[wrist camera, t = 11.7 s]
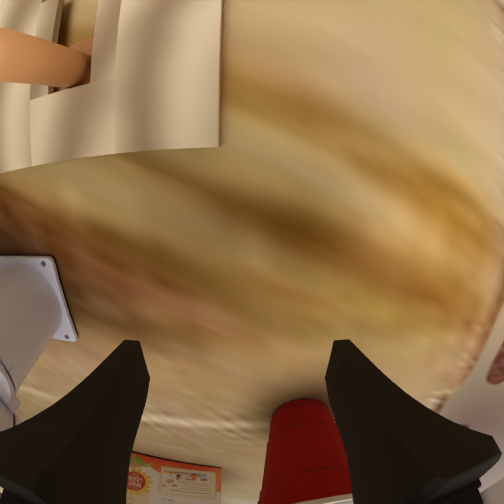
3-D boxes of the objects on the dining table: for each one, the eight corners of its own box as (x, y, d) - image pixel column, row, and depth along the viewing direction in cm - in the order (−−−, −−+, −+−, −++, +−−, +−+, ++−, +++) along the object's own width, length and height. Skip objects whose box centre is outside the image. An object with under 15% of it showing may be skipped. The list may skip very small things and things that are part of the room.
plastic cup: (243, 442, 29) (246, 535, 18) (249, 383, 24) (254, 508, 13) (335, 437, 29) (356, 521, 18) (363, 378, 25) (404, 484, 14)
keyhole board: (-2, 172, 16) (-18, 177, 14) (27, -52, 7) (16, -59, 6) (220, 145, 17) (218, 147, 15) (231, -108, 8) (230, -121, 6)
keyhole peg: (60, 117, 15) (-37, 127, 7) (53, 57, 13) (-38, 40, 5) (121, 92, 15) (33, 75, 7) (112, 29, 13) (34, -18, 5)
